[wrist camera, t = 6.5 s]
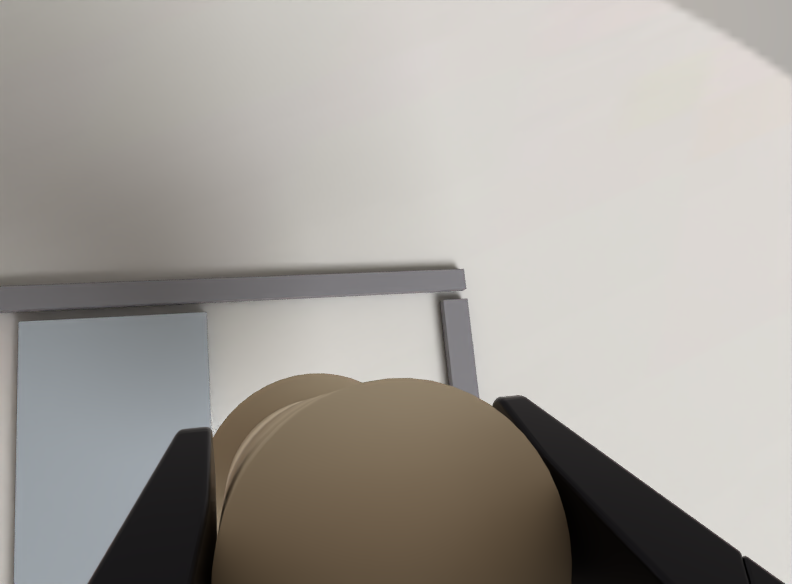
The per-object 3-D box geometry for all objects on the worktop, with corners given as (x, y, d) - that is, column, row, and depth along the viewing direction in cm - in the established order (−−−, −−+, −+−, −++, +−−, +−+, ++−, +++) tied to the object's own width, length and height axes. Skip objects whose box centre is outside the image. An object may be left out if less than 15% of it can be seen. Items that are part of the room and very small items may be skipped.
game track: (502, 631, 22) (507, 634, 21) (-667, 878, 14) (-692, 891, 14) (460, 271, 24) (463, 269, 24) (-556, 310, 16) (-576, 307, 16)
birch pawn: (425, 580, 15) (652, 774, 7) (203, 621, 13) (151, 925, 5) (404, 368, 16) (580, 314, 8) (195, 385, 14) (140, 340, 6)
